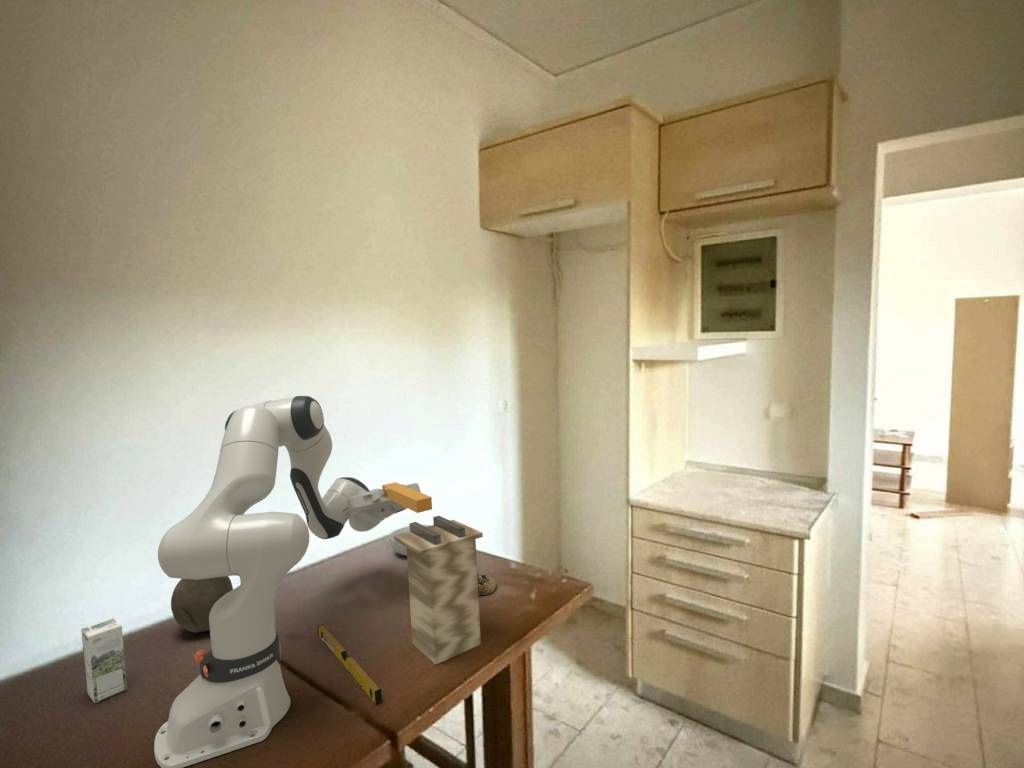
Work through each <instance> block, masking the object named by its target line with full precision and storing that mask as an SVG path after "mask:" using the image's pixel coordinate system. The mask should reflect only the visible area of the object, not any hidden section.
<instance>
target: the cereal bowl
mask: <svg viewBox="0 0 1024 768" xmlns="http://www.w3.org/2000/svg"><path fill="white" fill-rule="evenodd" d="M422 525H423V526H425V527H429V526H432V525H431V524H422ZM406 532H410V525H407V526H403V527H400V528H398V529H395V530H394V531H392V532H391V533H390V534H389V536H388V537H389V544H390V548H392V550H393V551H394V552H396V553H398V554H400V555H404V556H406V557H407V547H405V546H404V545H402V544H400V543H399V542H397V541H395V540H394V536H395V535H399V534H403V533H406Z"/></svg>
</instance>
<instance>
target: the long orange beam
mask: <svg viewBox="0 0 1024 768" xmlns="http://www.w3.org/2000/svg"><path fill="white" fill-rule="evenodd" d="M384 488H386V492H387V495H386V496H384V497H386V498H388V499H390V500H392V501H394V502H396V503H398V504H400V505H402V506H404V507H406V508H407V509H408V510H410V511H413V512H414V513H416V514H419V513H422V512H423V513H424V512H427V511H431V510H433V500H432V496H430V495H427V494H425V493H423V492H421V491H420V492H421V493H420V492H418V491H415V490H413V489H411V488H408V487H406V486H403V484H401V483H399V482H397V481H396V482H390V483H386V484H382V485H381V489H384Z"/></svg>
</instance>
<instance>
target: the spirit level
mask: <svg viewBox="0 0 1024 768" xmlns="http://www.w3.org/2000/svg"><path fill="white" fill-rule="evenodd" d="M317 633H318V635H319V636H320V637H321V638H324V640H325V641H326V642H327V643H328V644H329V645H330V646H331V647H332V648H333V649H334V651H335V654H336V655H337V657H338V658H339V659H340V660H341V661H342V663H343V664H344V665H345V666H346V667H347V669H348V670H349V671H350V672H351V674H352V675H353V676H352V675H351V674H350V675H351V676H352V678H353V677H355V679H356V680H357V681H358V682H359V684H360V685H361V686H362V687H361V686H360V685H359V684H358V685H359V686H360V687H361V688H362V690H363V689H364V690H365V691H366V692H367V693H366V692H365V691H364V690H363V691H364V692H365V693H366V695H369V696H370V697H371V698H372V699H371V698H370V697H369V696H368V697H369V698H370V699H371V701H372V702H373V701H374V702H375V703H374V704H377V703H378V702H380V701H381V702H380V703H382V702H383V700H382V699H383V698H382V697H383V696H382V688H380V687H379V686H378V685H377V683H375V682H374V680H373V679H372V678H371V677H370V676H369V675H368V674H367V673H366V671H364V669H363V668H362V667H361V666H360V665H359V663H357V662H356V660H355V659H354V658H353V657H352V656H351V655H350V656H348V654H347V650H346V649H345V648H344V647H343V646H342V644H341V643H340V642H339V641H338V640H337V639H336V637H334V636H333V635H332V633H331V632H330V631H329V630H328V629H327V628H326V627H325V625H324V624H323V623H322V624H319V625H318V626H317ZM319 636H318V637H319ZM320 637H319V638H320ZM321 638H320V639H321ZM337 657H336V658H337ZM338 658H337V659H338ZM342 663H341V664H342ZM343 664H342V665H343ZM347 669H346V670H347ZM348 670H347V671H348ZM355 679H354V680H355ZM356 680H355V681H356ZM357 681H356V682H357ZM358 682H357V683H358ZM378 704H379V703H378Z"/></svg>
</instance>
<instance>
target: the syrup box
mask: <svg viewBox="0 0 1024 768" xmlns="http://www.w3.org/2000/svg"><path fill="white" fill-rule="evenodd" d="M80 629H81V642H82V651H83V653H82V654H83V662H84V673H85V683H86V684H85V685H86V692H87V695H88V696H89V698H90V699H91V701H92V702H93V704H97V703H100V702H102V701H104V700H107V699H109V698H111V697H113V696H116V695H117V694H120V693H122V692H124V691H127V690H128V683H127V672H126V671H127V670H126V663H125V662H126V661H125V649H124V636H123V626H122V625H121V624H120V623H119V622H118V620H117V619H116V618H115V617H111V618H108V619H105V620H103V621H100V622H97V623H94V624H90V625H88V626H85V627H82V628H80Z"/></svg>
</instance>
